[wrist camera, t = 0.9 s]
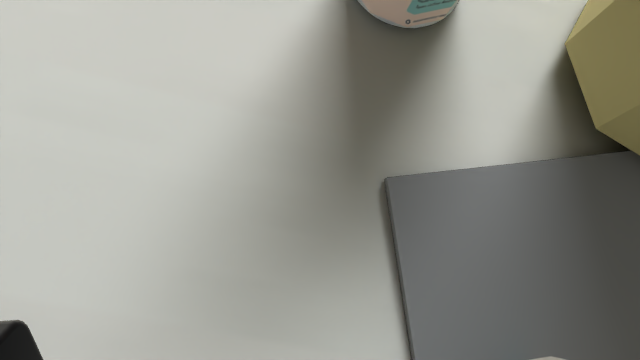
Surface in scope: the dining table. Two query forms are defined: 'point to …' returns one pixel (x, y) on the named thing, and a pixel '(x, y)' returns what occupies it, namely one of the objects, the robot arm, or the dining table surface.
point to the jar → (610, 66)
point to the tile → (549, 358)
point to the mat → (521, 259)
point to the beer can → (409, 11)
